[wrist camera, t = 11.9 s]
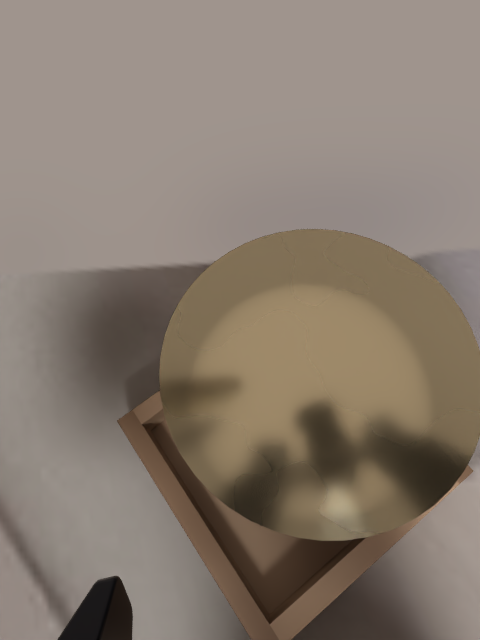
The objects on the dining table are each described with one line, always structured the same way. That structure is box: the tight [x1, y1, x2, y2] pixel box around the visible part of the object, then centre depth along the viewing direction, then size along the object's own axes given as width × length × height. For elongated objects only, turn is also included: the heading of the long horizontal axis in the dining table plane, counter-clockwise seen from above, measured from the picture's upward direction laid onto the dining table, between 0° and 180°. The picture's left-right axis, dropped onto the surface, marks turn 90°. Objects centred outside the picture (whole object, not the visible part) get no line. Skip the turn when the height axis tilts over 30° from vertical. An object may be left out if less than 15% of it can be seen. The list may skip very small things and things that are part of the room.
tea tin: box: [159, 229, 480, 541], centre depth 13 cm, size 6×6×13 cm
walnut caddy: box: [117, 390, 473, 640], centre depth 19 cm, size 11×11×2 cm
